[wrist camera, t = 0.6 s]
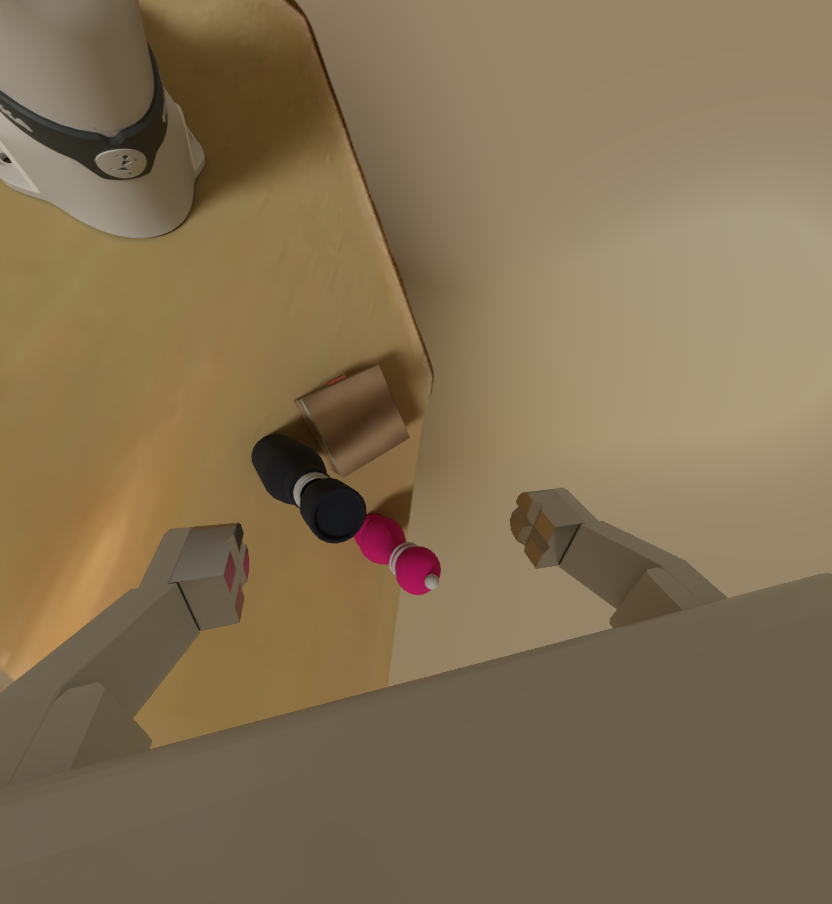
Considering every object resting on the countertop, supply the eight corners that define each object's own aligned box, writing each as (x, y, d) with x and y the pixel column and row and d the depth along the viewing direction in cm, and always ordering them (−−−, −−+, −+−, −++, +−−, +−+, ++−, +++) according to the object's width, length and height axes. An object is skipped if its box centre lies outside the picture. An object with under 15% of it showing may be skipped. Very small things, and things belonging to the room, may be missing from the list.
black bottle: (241, 449, 45) (266, 506, 19) (284, 426, 47) (356, 449, 22) (268, 486, 47) (322, 582, 21) (307, 462, 49) (398, 522, 24)
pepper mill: (372, 502, 56) (438, 544, 39) (397, 527, 59) (468, 576, 42) (342, 535, 54) (398, 594, 37) (370, 559, 57) (433, 624, 40)
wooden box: (291, 397, 47) (300, 395, 42) (364, 363, 52) (380, 358, 47) (331, 470, 51) (343, 477, 46) (395, 433, 56) (413, 436, 51)
